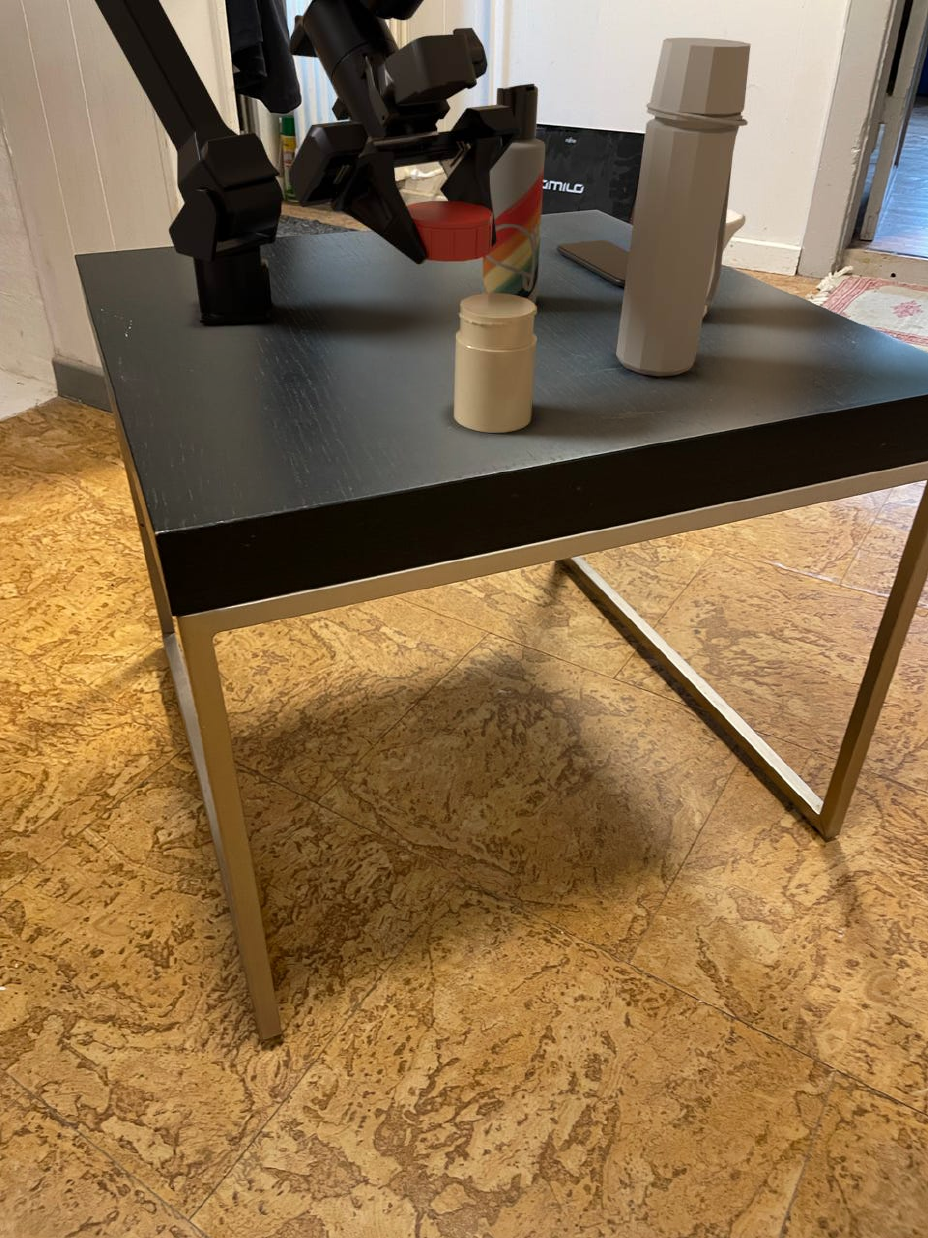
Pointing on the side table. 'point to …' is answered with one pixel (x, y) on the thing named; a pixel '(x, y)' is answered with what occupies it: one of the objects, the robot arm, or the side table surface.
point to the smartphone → (599, 258)
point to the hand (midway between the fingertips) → (458, 253)
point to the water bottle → (681, 202)
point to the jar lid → (453, 229)
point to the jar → (495, 362)
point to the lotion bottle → (517, 202)
